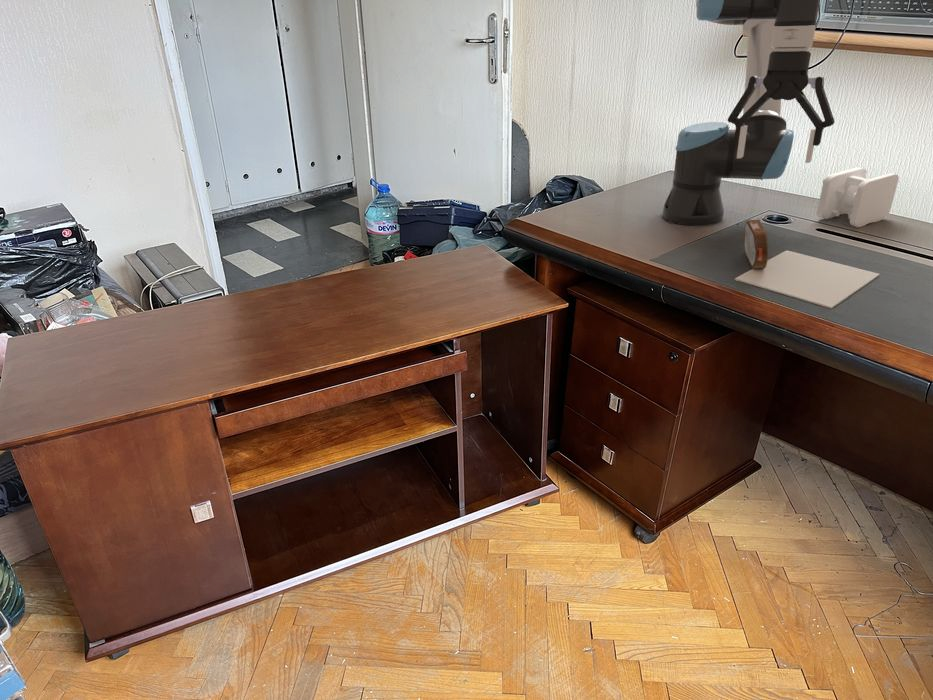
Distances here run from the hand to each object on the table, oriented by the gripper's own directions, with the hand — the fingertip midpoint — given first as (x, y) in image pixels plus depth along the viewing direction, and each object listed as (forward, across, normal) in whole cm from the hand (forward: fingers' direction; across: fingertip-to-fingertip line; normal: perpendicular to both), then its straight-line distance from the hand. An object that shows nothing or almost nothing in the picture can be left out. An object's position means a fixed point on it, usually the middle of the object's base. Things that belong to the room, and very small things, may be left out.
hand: (773, 159), depth 144 cm
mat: (+22, +11, -6) cm, 26 cm away
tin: (+22, 0, -3) cm, 22 cm away
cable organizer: (+19, +14, +36) cm, 43 cm away
